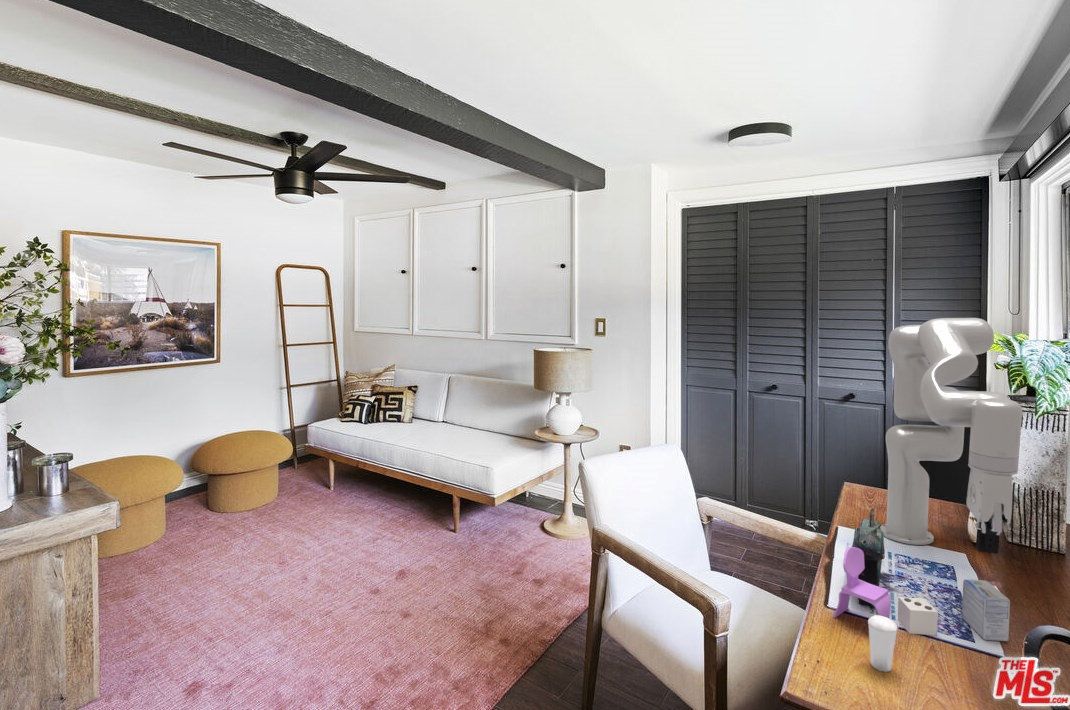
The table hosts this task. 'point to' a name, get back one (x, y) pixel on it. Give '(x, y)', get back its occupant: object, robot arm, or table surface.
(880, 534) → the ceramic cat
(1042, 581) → the table surface
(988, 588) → the medicine box
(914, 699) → the table surface
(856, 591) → the toy chair
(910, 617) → the dotted block three
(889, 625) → the milkshake
